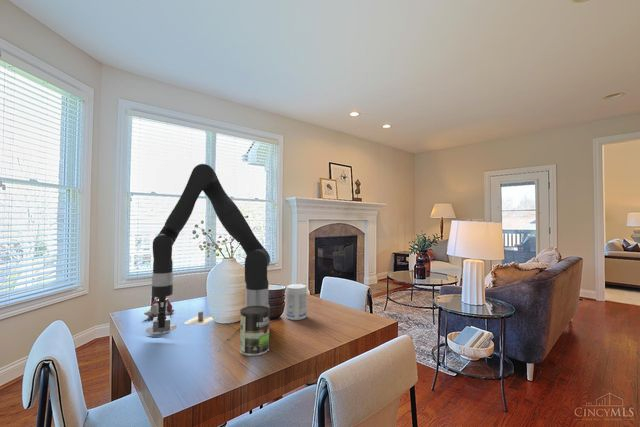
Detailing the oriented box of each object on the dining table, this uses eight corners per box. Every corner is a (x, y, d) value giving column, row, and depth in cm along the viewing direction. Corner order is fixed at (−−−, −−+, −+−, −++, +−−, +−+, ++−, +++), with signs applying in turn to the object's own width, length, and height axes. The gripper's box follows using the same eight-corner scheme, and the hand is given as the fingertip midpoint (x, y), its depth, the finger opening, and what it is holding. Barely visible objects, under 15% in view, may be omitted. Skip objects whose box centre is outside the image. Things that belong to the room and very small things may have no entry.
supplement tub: (304, 313, 149) (305, 283, 149) (308, 320, 140) (308, 287, 140) (284, 314, 147) (285, 284, 147) (286, 321, 137) (287, 288, 138)
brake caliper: (182, 308, 146) (171, 292, 139) (168, 328, 137) (157, 312, 130) (161, 306, 149) (150, 290, 142) (147, 326, 140) (135, 310, 133)
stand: (216, 320, 137) (217, 309, 137) (205, 328, 127) (205, 316, 127) (195, 319, 138) (196, 308, 138) (183, 327, 128) (183, 315, 128)
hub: (182, 328, 127) (182, 316, 127) (165, 338, 116) (165, 325, 116) (157, 326, 128) (158, 314, 128) (139, 336, 117) (139, 323, 117)
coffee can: (275, 348, 109) (276, 308, 109) (254, 359, 100) (255, 315, 101) (254, 341, 115) (255, 303, 115) (233, 351, 106) (233, 310, 106)
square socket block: (169, 325, 126) (170, 315, 126) (170, 330, 121) (170, 319, 121) (153, 327, 123) (153, 317, 123) (152, 332, 118) (153, 321, 118)
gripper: (173, 286, 118) (172, 328, 117) (172, 279, 130) (171, 317, 130) (151, 288, 114) (150, 331, 114) (152, 281, 127) (151, 320, 127)
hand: (161, 324), depth 122 cm, fingers open, 8 cm apart
